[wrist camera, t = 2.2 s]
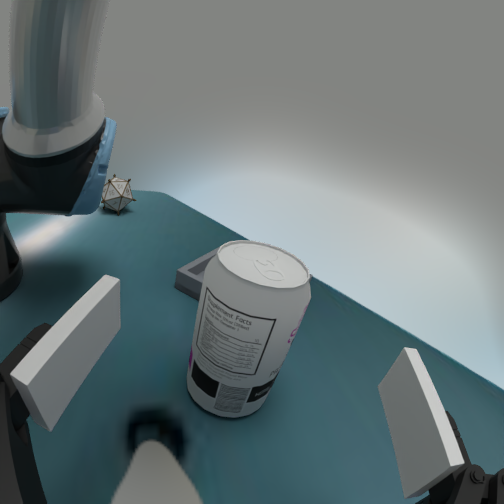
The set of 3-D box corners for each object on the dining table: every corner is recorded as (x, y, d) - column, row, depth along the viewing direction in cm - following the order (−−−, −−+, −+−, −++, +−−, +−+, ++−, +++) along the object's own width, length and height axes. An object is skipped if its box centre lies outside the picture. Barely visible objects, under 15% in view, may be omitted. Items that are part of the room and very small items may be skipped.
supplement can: (178, 363, 29) (197, 234, 23) (248, 357, 33) (286, 240, 27) (198, 426, 23) (229, 294, 17) (277, 411, 26) (338, 290, 20)
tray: (174, 287, 42) (177, 269, 41) (228, 255, 56) (231, 240, 54) (274, 338, 37) (280, 321, 36) (307, 289, 51) (312, 275, 50)
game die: (108, 223, 64) (104, 183, 64) (141, 215, 65) (136, 175, 65) (94, 216, 55) (90, 172, 56) (130, 206, 56) (125, 162, 57)
